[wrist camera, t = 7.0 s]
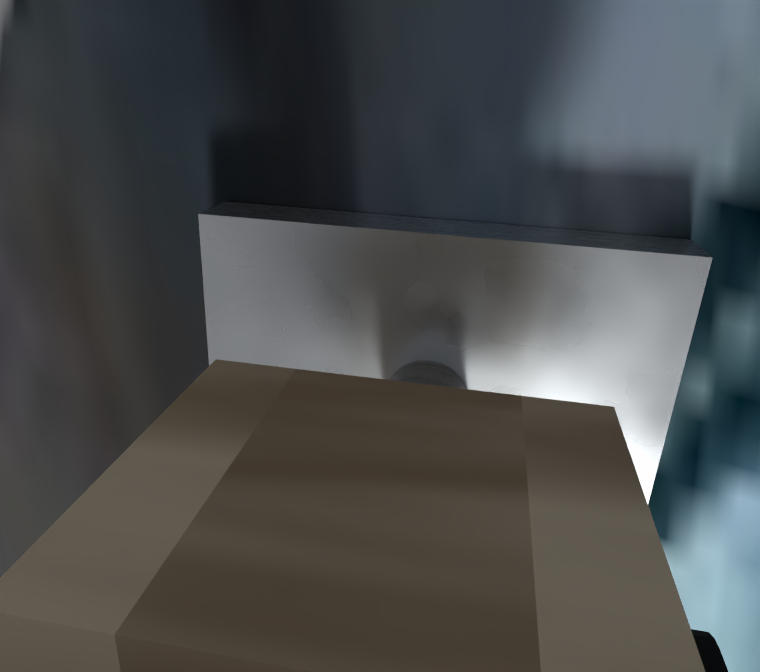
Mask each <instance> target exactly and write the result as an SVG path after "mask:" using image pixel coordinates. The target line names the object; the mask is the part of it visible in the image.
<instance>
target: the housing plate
mask: <svg viewBox="0 0 760 672" xmlns="http://www.w3.org/2000/svg"><path fill="white" fill-rule="evenodd" d="M198 217H199V230H200V244H201V258H202V272H203V286H204V300H205V314H206V328H207V342H208V356H209V366H210V365H211V364H212V363H213V362H214V361H215V360H216V359H218V360H226V361H235V362H243V363H252V364H260V365H268V366H277V367H285V368H293V369H302V370H310V371H319V372H327V373H335V374H344V375H352V376H361V377H369V378H377V379H386V380H394V381H403V382H411V383H419V384H428V385H436V386H445V387H453V388H461V389H470V390H478V391H487V392H495V393H503V394H512V395H520V396H528V397H537V398H545V399H554V400H562V401H570V402H579V403H587V404H596V405H604V406H612V407H614V408H615V411H616V414H617V417H618V420H619V423H620V426H621V428H622V431H623V434H624V437H625V440H626V443H627V446H628V449H629V452H630V455H631V457H632V460H633V463H634V466H635V469H636V472H637V475H638V478H639V481H640V484H641V486H642V489H643V492H644V495H645V498H646V501H647V504H648V502H649V498H650V494H651V491H652V487H653V483H654V479H655V475H656V471H657V468H658V464H659V460H660V456H661V452H662V449H663V445H664V441H665V437H666V433H667V430H668V426H669V422H670V418H671V414H672V410H673V407H674V403H675V399H676V395H677V391H678V388H679V384H680V380H681V376H682V372H683V368H684V365H685V361H686V357H687V353H688V349H689V346H690V342H691V338H692V334H693V330H694V327H695V323H696V319H697V315H698V311H699V307H700V304H701V300H702V296H703V292H704V288H705V285H706V281H707V277H708V273H709V269H710V266H711V262H712V257H711V256H710V255H709V254H708V253H707V252H706V251H704V250H703V249H702V248H701V247H700V246H699V245H698V244H696V243H695V242H694V241H693V240H692V239H680V238H667V237H655V236H643V235H631V234H618V233H606V232H594V231H581V230H569V229H557V228H545V227H532V226H520V225H508V224H496V223H483V222H471V221H459V220H447V219H434V218H422V217H410V216H397V215H385V214H373V213H361V212H348V211H336V210H324V209H312V208H299V207H287V206H275V205H262V204H250V203H238V202H226V201H225V202H222V203H220V204H218V205H216V206H214V207H212V208H210V209H208V210H205V211H203V212H201V213H199V214H198Z"/></svg>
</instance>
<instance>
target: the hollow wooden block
mask: <svg viewBox="0 0 760 672" xmlns="http://www.w3.org/2000/svg"><path fill="white" fill-rule="evenodd" d="M0 672H705V669H704V666H703V663H702V660H701V658H700V655H699V652H698V649H697V646H696V643H695V640H694V637H693V634H692V631H691V629H690V626H689V623H688V620H687V617H686V614H685V611H684V608H683V605H682V602H681V600H680V597H679V594H678V591H677V588H676V585H675V582H674V579H673V576H672V573H671V571H670V568H669V565H668V562H667V559H666V556H665V553H664V550H663V547H662V544H661V542H660V539H659V536H658V533H657V530H656V527H655V524H654V521H653V518H652V515H651V513H650V510H649V507H648V504H647V501H646V498H645V495H644V492H643V489H642V486H641V484H640V481H639V478H638V475H637V472H636V469H635V466H634V463H633V460H632V457H631V455H630V452H629V449H628V446H627V443H626V440H625V437H624V434H623V431H622V428H621V426H620V423H619V420H618V417H617V414H616V411H615V408H614V407H612V406H604V405H596V404H587V403H579V402H570V401H562V400H554V399H545V398H537V397H528V396H520V395H512V394H503V393H495V392H487V391H478V390H470V389H461V388H453V387H445V386H436V385H428V384H419V383H411V382H403V381H394V380H386V379H377V378H369V377H361V376H352V375H344V374H335V373H327V372H319V371H310V370H302V369H293V368H285V367H277V366H268V365H260V364H252V363H243V362H235V361H226V360H218V359H216V360H215V361H214V362H213V363H212V364H211V365H210V366H209V367H208V368H207V369H206V370H205V371H204V372H203V373H202V374H201V375H200V376H199V377H198V378H197V379H196V380H195V381H194V382H193V383H192V384H191V385H190V386H189V387H188V388H187V389H186V390H185V391H184V392H183V393H182V394H181V395H180V396H179V397H178V398H177V399H176V400H175V401H174V402H173V403H172V404H171V405H170V406H169V407H168V408H167V409H166V410H165V411H164V412H163V413H162V414H161V415H160V416H159V417H158V418H157V419H156V420H155V421H154V422H153V423H152V424H151V425H150V426H149V427H148V429H147V430H146V431H145V432H144V433H143V434H142V435H141V436H140V437H139V438H138V439H137V440H136V441H135V442H134V443H133V444H132V445H131V446H130V447H129V448H128V449H127V450H126V451H125V452H124V453H123V454H122V455H121V456H120V457H119V458H118V459H117V460H116V461H115V462H114V463H113V464H112V465H111V466H110V467H109V468H108V469H107V470H106V471H105V472H104V473H103V474H102V475H101V476H100V477H99V478H98V479H97V480H96V481H95V482H94V483H93V484H92V485H91V486H90V487H89V488H88V489H87V490H86V491H85V492H84V493H83V494H82V495H81V496H80V497H79V498H78V499H77V500H76V501H75V502H74V504H73V505H72V506H71V507H70V508H69V509H68V510H67V511H66V512H65V513H64V514H63V515H62V516H61V517H60V518H59V519H58V520H57V521H56V522H55V523H54V524H53V525H52V526H51V527H50V528H49V529H48V530H47V531H46V532H45V533H44V534H43V535H42V536H41V537H40V538H39V539H38V540H37V541H36V542H35V543H34V544H33V545H32V546H31V547H30V548H29V549H28V550H27V551H26V552H25V553H24V554H23V555H22V556H21V557H20V558H19V559H18V560H17V561H16V562H15V563H14V564H13V565H12V566H11V567H10V568H9V569H8V570H7V571H6V572H5V573H4V574H3V575H2V576H1V577H0Z"/></svg>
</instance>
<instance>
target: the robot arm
mask: <svg viewBox="0 0 760 672" xmlns="http://www.w3.org/2000/svg"><path fill="white" fill-rule="evenodd" d="M691 631H692V634H693V637H694V640H695V643H696V646H697V649H698V652H699V655H700V658H701V660H702V663H703V666H704V669H705V672H728V670H727V667H726V665H725V662H724V659H723V657H722V654H721V652H720V649H719V647H718V645H717V643H716V641H715V639H714V637H713V636H712V635H711V634H710V633H709V632H704V631H698V630H692V629H691Z"/></svg>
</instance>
